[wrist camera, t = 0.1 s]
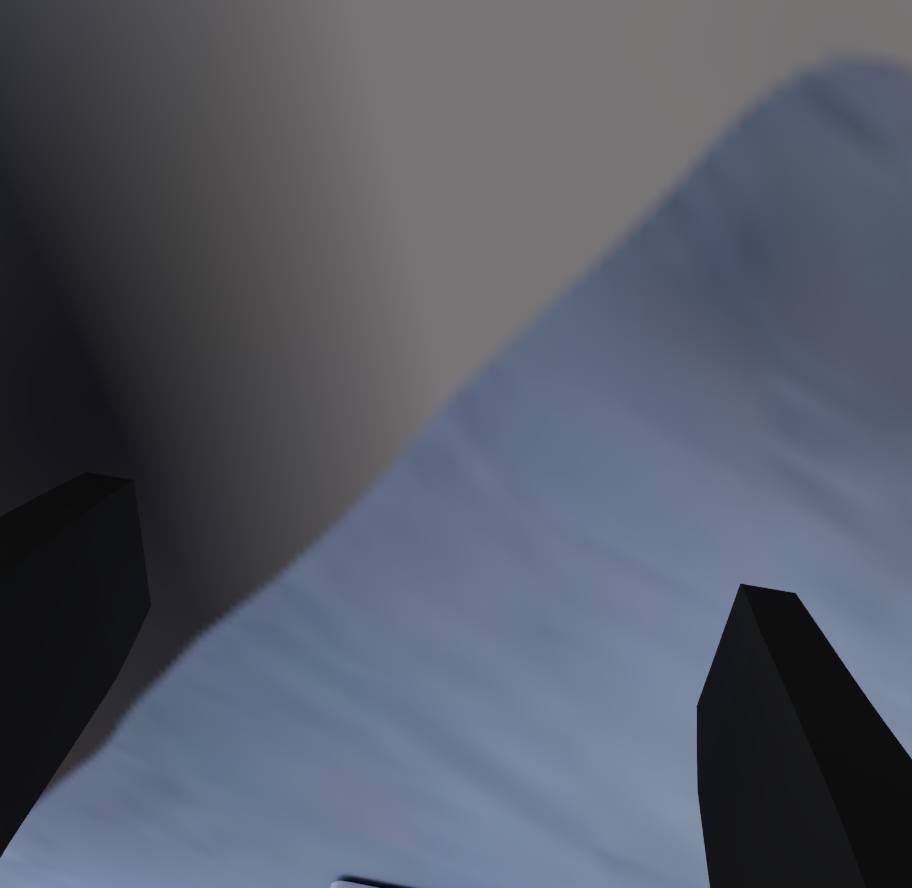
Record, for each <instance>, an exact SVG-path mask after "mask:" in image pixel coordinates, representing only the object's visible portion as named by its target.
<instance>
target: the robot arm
mask: <svg viewBox="0 0 912 888" xmlns="http://www.w3.org/2000/svg"><path fill="white" fill-rule="evenodd" d="M150 607H151V602H150V595H149V588H148V581H147V574H146V566H145V558H144V551H143V544H142V536H141V529H140V522H139V514H138V507H137V499H136V492H135V485H134V480H132V479H126V478H120V477H114V476H109V475H103V474H97V473H91V472H84V473H82V474H80V475H78V476H76V477H74V478H72V479H70V480H68V481H66V482H64V483H62V484H60V485H58V486H56V487H54V488H52V489H50V490H48V491H47V492H45V493H43V494H41V495H39V496H37V497H35V498H34V499H32V500H30V501H28V502H26V503H24V504H23V505H21V506H19V507H17V508H15V509H14V510H12V511H10V512H8V513H6V514H4V515H3V516H1V517H0V857H1V856H2V854H3V852H4V851H5V849H6V847H7V846H8V844H9V842H10V841H11V839H12V838H13V836H14V835H15V833H16V832H17V830H18V829H19V827H20V826H21V824H22V823H23V821H24V820H25V818H26V817H27V815H28V814H29V812H30V810H31V809H32V807H33V806H34V804H35V803H36V801H37V800H38V798H39V797H40V795H41V794H42V792H43V791H44V789H45V788H46V786H47V785H48V783H49V782H50V780H51V778H52V777H53V775H54V774H55V772H56V771H57V769H58V768H59V766H60V765H61V763H62V761H63V760H64V759H65V757H66V756H67V754H68V753H69V751H70V749H71V748H72V746H73V745H74V743H75V741H76V740H77V739H78V737H79V736H80V734H81V733H82V731H83V730H84V728H85V727H86V725H87V724H88V722H89V720H90V719H91V717H92V716H93V714H94V712H95V711H96V710H97V708H98V706H99V705H100V703H101V702H102V700H103V699H104V697H105V695H106V694H107V692H108V691H109V689H110V688H111V686H112V684H113V683H114V681H115V680H116V678H117V676H118V674H119V672H120V670H121V668H122V666H123V664H124V662H125V660H126V658H127V656H128V654H129V652H130V650H131V648H132V646H133V644H134V642H135V639H136V637H137V635H138V633H139V631H140V628H141V626H142V624H143V622H144V620H145V618H146V615H147V613H148V611H149V609H150ZM697 778H698V796H699V805H700V813H701V821H702V829H703V836H704V844H705V852H706V860H707V867H708V875H709V882H710V888H912V759H911V757H910V756H909V755H908V753H907V752H906V751H905V749H904V748H903V747H902V745H901V744H900V742H899V741H898V740H897V738H896V737H895V736H894V734H893V733H892V732H891V730H890V729H889V728H888V726H887V725H886V723H885V722H884V721H883V719H882V718H881V717H880V715H879V714H878V712H877V711H876V710H875V708H874V707H873V705H872V704H871V703H870V701H869V700H868V698H867V697H866V695H865V694H864V693H863V691H862V690H861V688H860V687H859V685H858V684H857V682H856V681H855V680H854V678H853V677H852V675H851V674H850V672H849V671H848V669H847V668H846V667H845V665H844V664H843V662H842V661H841V659H840V658H839V656H838V655H837V653H836V652H835V650H834V649H833V647H832V646H831V644H830V643H829V641H828V640H827V639H826V637H825V636H824V634H823V633H822V631H821V630H820V628H819V627H818V625H817V624H816V622H815V621H814V619H813V618H812V616H811V615H810V614H809V612H808V611H807V609H806V608H805V606H804V605H803V603H802V602H801V601H800V599H799V598H798V596H797V595H796V593H791V592H786V591H780V590H774V589H768V588H762V587H756V586H751V585H745V584H740V587H739V589H738V592H737V595H736V598H735V601H734V603H733V606H732V609H731V612H730V615H729V617H728V620H727V623H726V626H725V629H724V632H723V634H722V637H721V640H720V643H719V646H718V648H717V651H716V654H715V657H714V660H713V662H712V665H711V668H710V671H709V674H708V676H707V679H706V682H705V685H704V688H703V691H702V693H701V696H700V699H699V702H698V705H697ZM330 888H378V887H373V886H368V885H363V884H358V883H352V882H347V881H335V882H333V883H332V884H331V886H330Z"/></svg>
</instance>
